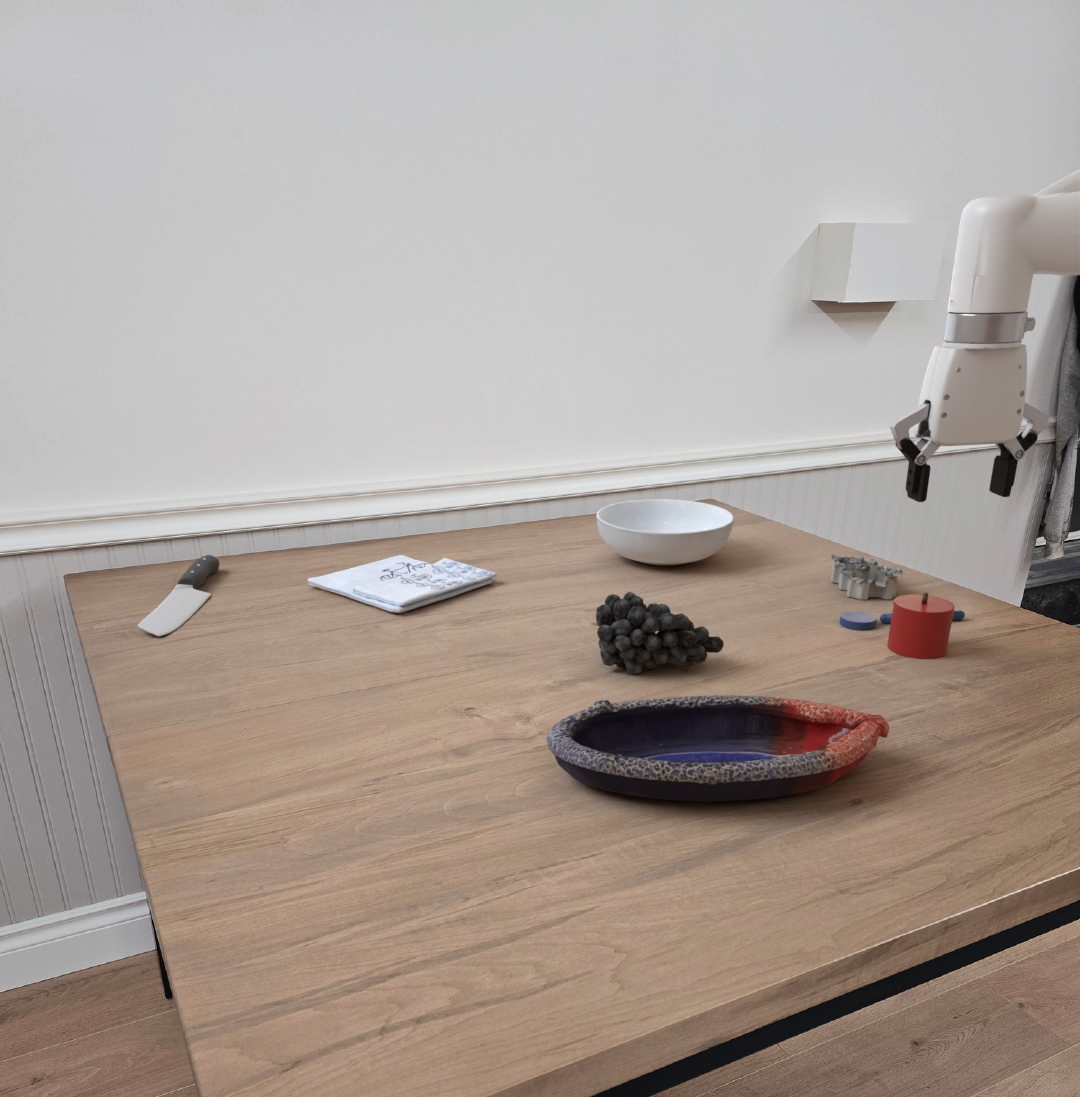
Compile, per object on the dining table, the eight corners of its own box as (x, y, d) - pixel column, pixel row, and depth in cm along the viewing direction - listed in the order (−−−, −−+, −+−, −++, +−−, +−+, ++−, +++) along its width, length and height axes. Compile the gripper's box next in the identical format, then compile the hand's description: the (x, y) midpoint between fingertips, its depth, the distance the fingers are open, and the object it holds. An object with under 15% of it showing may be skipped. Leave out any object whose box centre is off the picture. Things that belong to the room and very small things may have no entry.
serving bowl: (576, 569, 145) (576, 523, 142) (619, 535, 162) (621, 494, 159) (713, 583, 138) (716, 536, 135) (743, 547, 155) (746, 504, 152)
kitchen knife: (174, 630, 119) (133, 620, 118) (172, 649, 120) (131, 639, 119) (235, 559, 145) (201, 550, 144) (233, 575, 146) (199, 566, 145)
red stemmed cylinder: (929, 637, 118) (939, 582, 115) (956, 657, 112) (967, 600, 109) (877, 639, 117) (886, 585, 114) (902, 659, 111) (911, 602, 108)
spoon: (954, 613, 125) (956, 605, 125) (972, 625, 122) (974, 616, 121) (834, 619, 124) (835, 610, 123) (847, 630, 120) (849, 621, 119)
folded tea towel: (400, 617, 125) (398, 601, 125) (304, 587, 137) (303, 572, 137) (499, 583, 139) (499, 569, 138) (404, 558, 150) (403, 545, 150)
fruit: (727, 583, 108) (592, 579, 108) (734, 630, 102) (591, 625, 102) (717, 643, 114) (589, 639, 114) (723, 691, 108) (588, 686, 108)
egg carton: (901, 601, 131) (906, 571, 129) (846, 601, 131) (850, 571, 129) (877, 577, 140) (881, 549, 138) (825, 577, 140) (829, 549, 138)
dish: (542, 737, 93) (542, 689, 91) (856, 730, 94) (863, 683, 92) (550, 820, 79) (550, 767, 77) (918, 811, 80) (929, 758, 78)
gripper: (1041, 326, 104) (1012, 485, 111) (887, 332, 102) (868, 494, 110) (1084, 330, 97) (1051, 500, 105) (920, 337, 96) (898, 509, 103)
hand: (957, 496), depth 107 cm, fingers open, 9 cm apart
